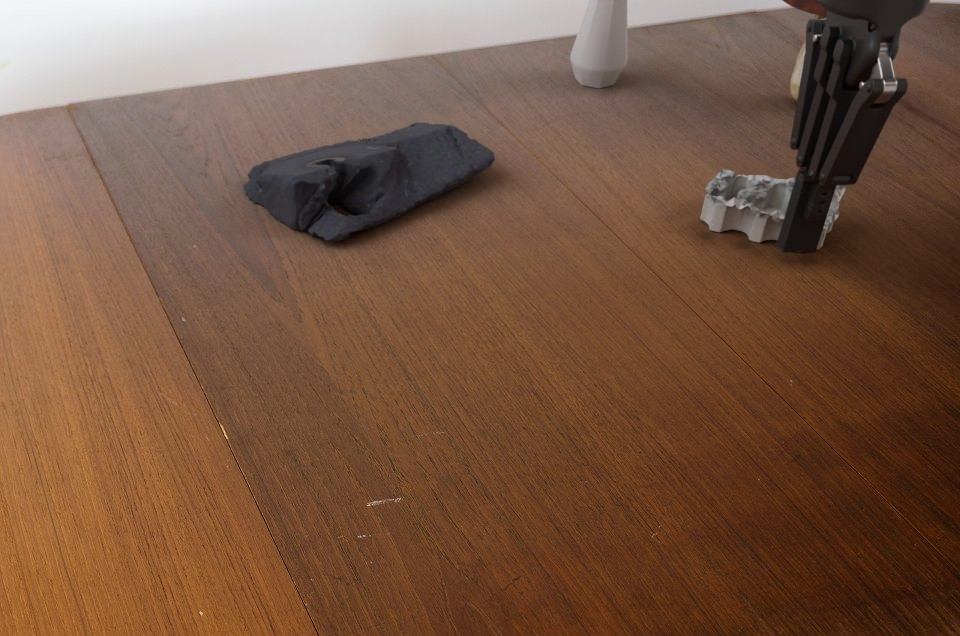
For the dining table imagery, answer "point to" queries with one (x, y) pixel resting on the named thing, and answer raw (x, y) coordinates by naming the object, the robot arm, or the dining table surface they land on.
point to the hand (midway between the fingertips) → (796, 246)
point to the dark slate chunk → (366, 178)
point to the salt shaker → (601, 44)
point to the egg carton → (755, 205)
